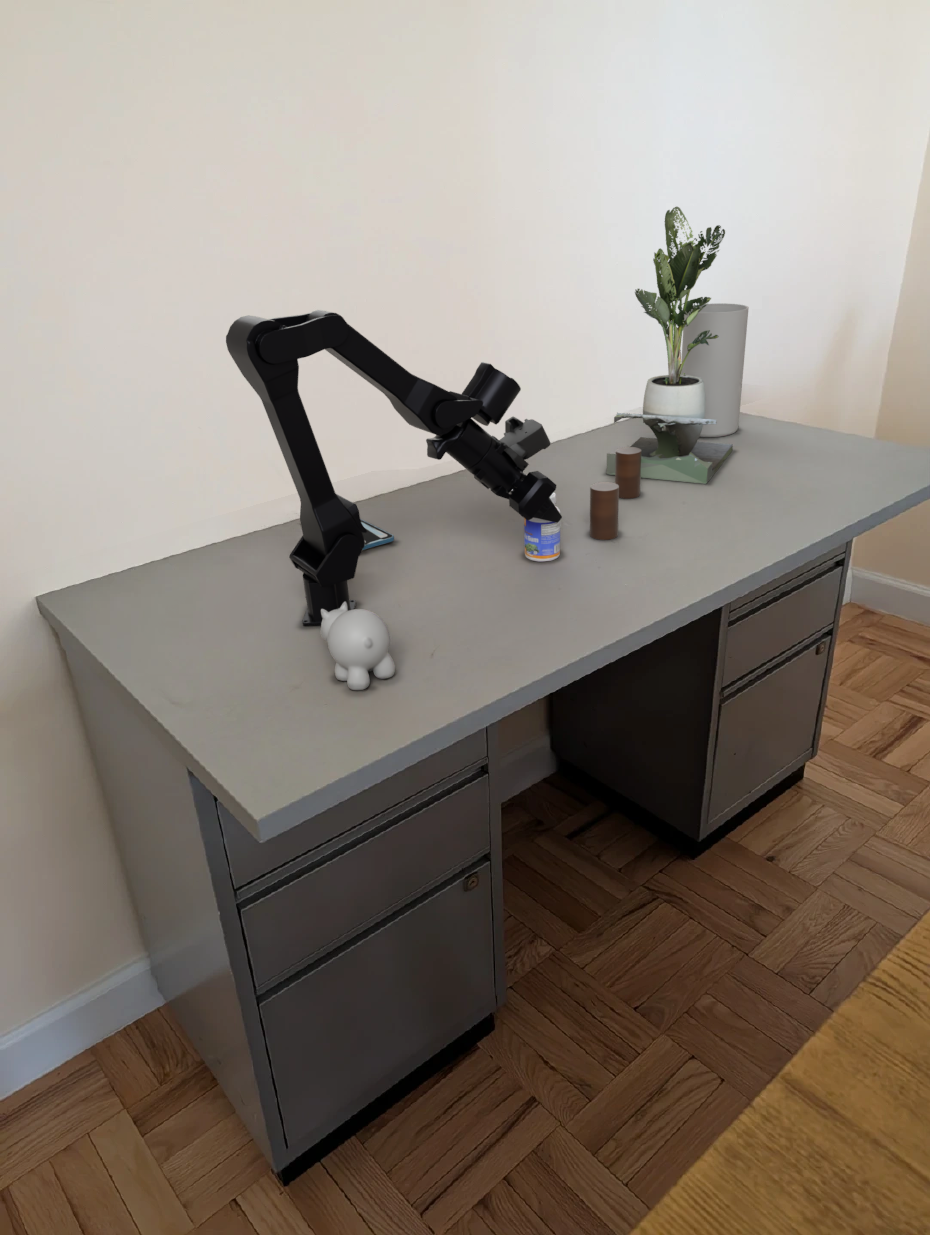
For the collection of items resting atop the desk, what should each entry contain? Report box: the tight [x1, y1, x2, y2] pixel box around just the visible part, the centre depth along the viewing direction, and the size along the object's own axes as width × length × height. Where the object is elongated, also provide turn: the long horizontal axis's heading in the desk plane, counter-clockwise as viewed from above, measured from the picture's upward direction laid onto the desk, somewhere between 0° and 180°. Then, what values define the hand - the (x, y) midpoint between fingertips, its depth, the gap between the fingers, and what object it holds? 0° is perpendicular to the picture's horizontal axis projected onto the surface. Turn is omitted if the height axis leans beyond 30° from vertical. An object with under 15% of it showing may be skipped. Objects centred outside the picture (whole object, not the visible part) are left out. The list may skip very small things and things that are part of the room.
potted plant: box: [606, 206, 734, 485], centre depth 163 cm, size 22×19×45 cm
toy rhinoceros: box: [319, 601, 396, 691], centre depth 105 cm, size 7×12×8 cm, turn 34°
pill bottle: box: [523, 491, 561, 563], centre depth 133 cm, size 5×5×10 cm
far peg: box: [614, 446, 641, 500], centre depth 156 cm, size 4×4×8 cm
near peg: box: [589, 481, 620, 541], centre depth 140 cm, size 4×4×8 cm
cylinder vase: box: [680, 303, 749, 438], centre depth 186 cm, size 12×12×25 cm
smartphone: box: [360, 518, 395, 551], centre depth 147 cm, size 7×1×15 cm
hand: (550, 512), depth 133 cm, fingers open, 6 cm apart
